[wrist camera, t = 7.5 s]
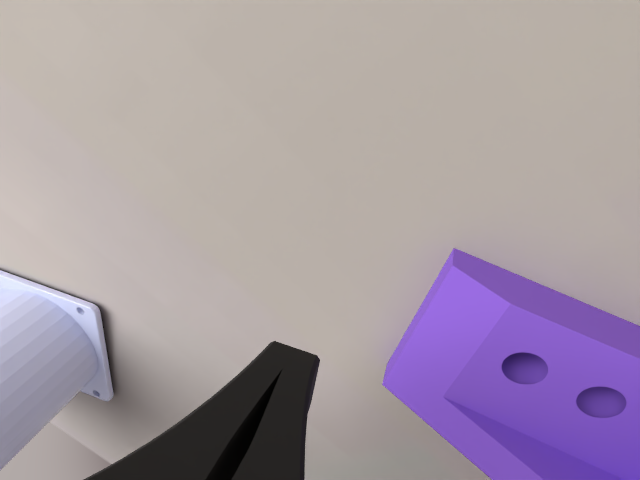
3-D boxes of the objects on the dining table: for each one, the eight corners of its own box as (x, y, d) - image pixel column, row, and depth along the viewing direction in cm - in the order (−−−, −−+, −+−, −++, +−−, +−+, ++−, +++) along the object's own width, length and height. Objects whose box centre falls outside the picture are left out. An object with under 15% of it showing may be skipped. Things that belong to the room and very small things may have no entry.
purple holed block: (778, 379, 15) (959, 610, 10) (643, 475, 19) (716, 683, 13) (454, 243, 16) (443, 376, 11) (388, 359, 20) (354, 503, 14)
